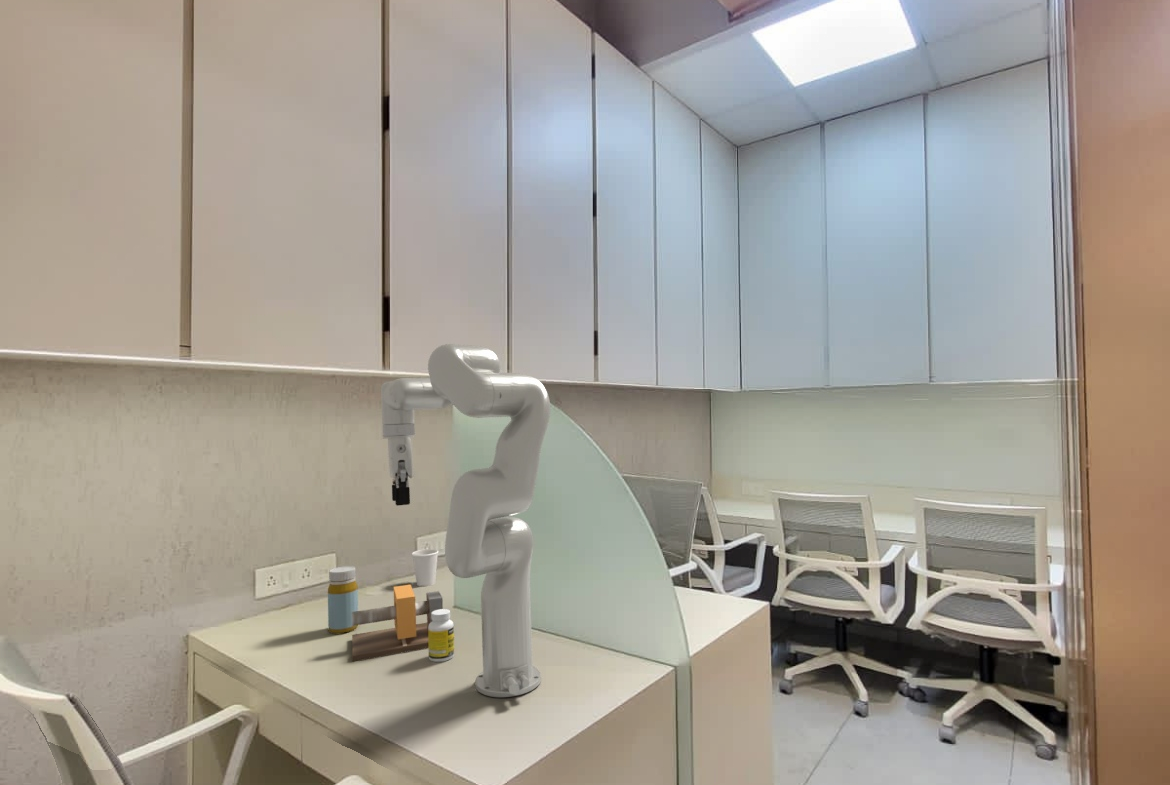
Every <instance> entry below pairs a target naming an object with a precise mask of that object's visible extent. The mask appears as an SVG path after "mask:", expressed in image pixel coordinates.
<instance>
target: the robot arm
mask: <svg viewBox="0 0 1170 785" xmlns="http://www.w3.org/2000/svg"><path fill="white" fill-rule="evenodd" d="M427 363H428V364H427V372H428V375H429V377H401V378H397V379H394V380H392V381H386V382H384V383H382V385H381V388H380V389H381V391H380V392H381V394H380V395H381V397H380V398H381V425H382V428H381V429H382V439H387V451H388V453H387V454H388V456H387V457H388V468H389V475H390V478H392V484H391V498H392V501H393V502H394V503H395V506H396V507H397V506H405V505H406V506H407V505H410V504H411V498H410V497H411V496H410V495H411V494H410V493H411V492H410V487H409V486H410V484H409V479H413V478H414V477H415V476H414V475H415V473H414V460H413V459H414V458H413V445H412V438H415V437H416V436H415V435H416V431H415V430H416V428H415V427H416V426H415V410H416V411H418V410H422V411H423V410H441V409H445V408H448V407H451V406H454V408H456V409H457V410H458V411H459V412H460V413H461V414H463V415H464V416H466V417H469V418H473V419H474V418H475V419H480V418H503V417H505V418H506V417H507V418H508V417H510V421H509V422H508V424H507V425H506V426H505V427H504V428H503V430H502V431H501V433H500V435H499V437H498V439H497V442H496V446H495V453H494V458H493V461H492V464H491V465H490V466H489V467H483V468H477V469H471V470H468V471H466V472H464V473H463V474H462V475H461V476H459V478H458V479H457V480H456V482H455V484H454V486H453V490H452V493H451V498H450V506H449V513H448V520H447V527H446V534H445V535H446V536H445V543H444V556H445V562H446V565H447V568H448V569H449V571H450V572H451V573H452V575H453V576H455V577H458V578H460V579H468V578H474V577H477V576H478V577H479V576H481V575H482V576H483V575H485V576H484V580H483V583H482V585H481V591H480V608H481V609H480V611H481V612H480V613H481V614H480V616H481V617H480V618H481V640H482V641H481V644H482V645H481V647H482V669H483V670H482V671H481V672H480V673H479V674H478V675H477V676H476V677H475V682H474V683H475V684H474V686H475V689H476V691H477V692H479V693H480V694H482V695H484V696H488V697H493V698H511V697H512V698H513V697H516V696H517V697H518V696H521V695H524V694H526V693H529V692H531V691H533V690H535V689H536V688H537V687H539V685H540V683H541V682H542V674H541V670H539V669H538V668H537V667H535V666H533V641H532V638H533V637H532V616H531V615H532V614H531V610H532V608H531V567H532V558H533V552H534V542H535V541H534V536H533V535H534V534H533V531H532V529H531V527H530V526H529V524H528V523H527V522H525V521H524V520H523V519H521V518H518V517H514V516H515V515H518V514H522V513H524V512H526V511H527V510H528V509H529V508H530V507H531V504H532V503H533V498H534V494H535V489H536V482H537V476H538V470H539V465H540V464H539V463H540V456H541V450H542V446H543V442H544V439H545V435H546V431H547V429H548V425H549V420H550V417H551V416H550V415H551V403H550V402H551V400H550V397H549V396H550V395H549V393H548V390H547V389H546V388H545V386H544V384H543V383H542V382H541V381H540V380H539V379H538V378H536V377H534V376H531V375H528V374H523V373H516V372H515V373H514V372H500V371H501V362H500V359H499V357H498V356H497V354H496V352H494V351H493V350H492V349H490V348H487V347H484V346H481V345H480V346H479V345H468V344H466V345H465V344H455V343H453V344H452V343H446V344H442V345H439V346H438V347H436V348H435V349H434V350H433V351H432V352H431V354H430V356H429V359H428V362H427ZM512 516H513V517H512Z"/></svg>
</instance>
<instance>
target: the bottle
mask: <svg viewBox="0 0 1170 785" xmlns="http://www.w3.org/2000/svg"><path fill="white" fill-rule="evenodd" d="M356 571H357V570H356V566H353V565H345V566H339V567H334V568H332V569H330V570H329V572H328V575H329V576H328V579H329V585H328V588H327V611H328V612H327V616H328V617H327V619H328V631H329V632H330V633H331V632H332V633H331V634H334V633H342V634H345V633H344V632H347V633H350V632H349V631H351V632H353V631H355V630H356V629H357V628H358V626H359V625H355V626H352V612H356V611H359V589H358V583H357V581H356V578H357V577H356ZM354 629H355V630H354ZM352 630H353V631H352Z"/></svg>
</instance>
